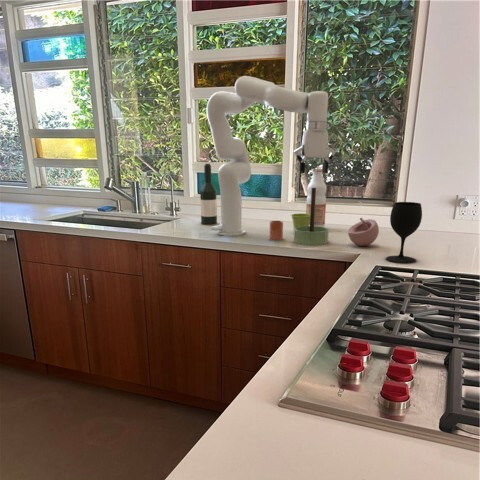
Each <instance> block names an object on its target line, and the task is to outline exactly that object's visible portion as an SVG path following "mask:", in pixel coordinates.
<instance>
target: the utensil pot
mask: <svg viewBox="0 0 480 480" xmlns="http://www.w3.org/2000/svg"><path fill="white" fill-rule="evenodd" d="M283 237H284V221H282V220H270V221H269V240H270V241H282V240H283Z"/></svg>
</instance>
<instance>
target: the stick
mask: <svg viewBox="0 0 480 480" xmlns="http://www.w3.org/2000/svg"><path fill="white" fill-rule="evenodd" d="M315 200H316V188H312V191H311V211H310V232H314V219H315Z"/></svg>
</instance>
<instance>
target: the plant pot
mask: <svg viewBox="0 0 480 480" xmlns="http://www.w3.org/2000/svg"><path fill="white" fill-rule="evenodd" d="M290 216H291V219H292V226H293V229H294V228H296V227H301V226H309V221H310V214H306V213H304V212H303V213H302V212H301V213H292V214H291V215H290Z"/></svg>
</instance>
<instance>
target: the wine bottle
mask: <svg viewBox="0 0 480 480" xmlns="http://www.w3.org/2000/svg"><path fill="white" fill-rule="evenodd" d="M203 167H204V168H203V170H204V172H203V173H204V183H203V185H202V187H201V189H200V191H199V194H200V195H199V197H200V198H199V199H200V221H201V222H200V223H201V225H204V226H215V225H216V224H218V209H217V208H218V207H217V206H218V205H217V203H218V201H217V190H216V187H215V186H214V184H213V182H212V165H211V163H204V166H203Z"/></svg>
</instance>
